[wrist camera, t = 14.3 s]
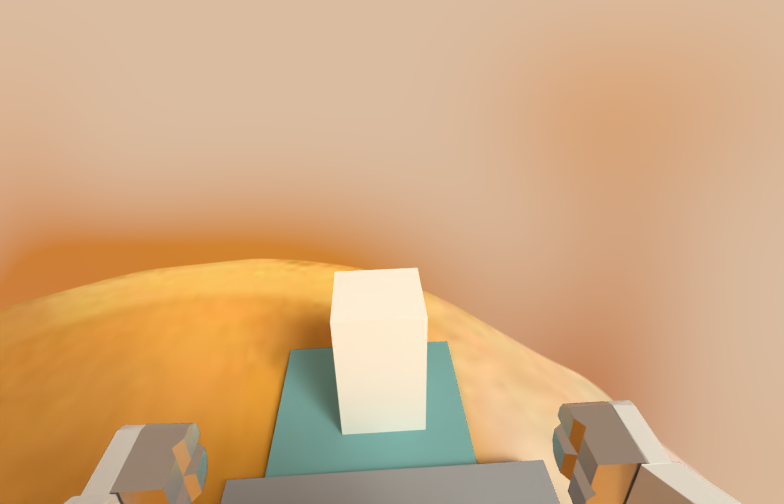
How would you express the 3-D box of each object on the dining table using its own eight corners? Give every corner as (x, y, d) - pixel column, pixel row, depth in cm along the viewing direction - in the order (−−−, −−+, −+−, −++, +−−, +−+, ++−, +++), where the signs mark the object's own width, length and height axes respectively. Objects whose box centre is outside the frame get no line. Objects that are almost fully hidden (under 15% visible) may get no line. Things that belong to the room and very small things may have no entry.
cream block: (342, 434, 33) (329, 322, 28) (344, 375, 39) (335, 271, 34) (425, 429, 34) (427, 317, 29) (417, 370, 39) (417, 267, 34)
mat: (265, 490, 31) (263, 482, 30) (292, 356, 42) (291, 349, 42) (477, 477, 31) (478, 469, 31) (446, 348, 42) (447, 341, 42)
